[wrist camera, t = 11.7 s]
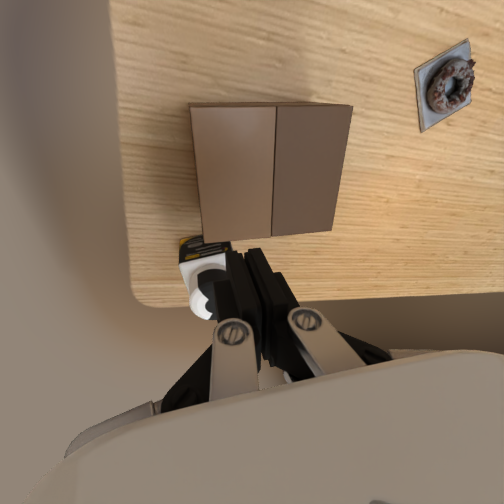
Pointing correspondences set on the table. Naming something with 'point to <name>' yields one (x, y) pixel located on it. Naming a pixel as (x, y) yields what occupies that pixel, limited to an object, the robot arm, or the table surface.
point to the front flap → (234, 170)
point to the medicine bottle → (202, 272)
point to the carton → (303, 163)
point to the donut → (444, 84)
